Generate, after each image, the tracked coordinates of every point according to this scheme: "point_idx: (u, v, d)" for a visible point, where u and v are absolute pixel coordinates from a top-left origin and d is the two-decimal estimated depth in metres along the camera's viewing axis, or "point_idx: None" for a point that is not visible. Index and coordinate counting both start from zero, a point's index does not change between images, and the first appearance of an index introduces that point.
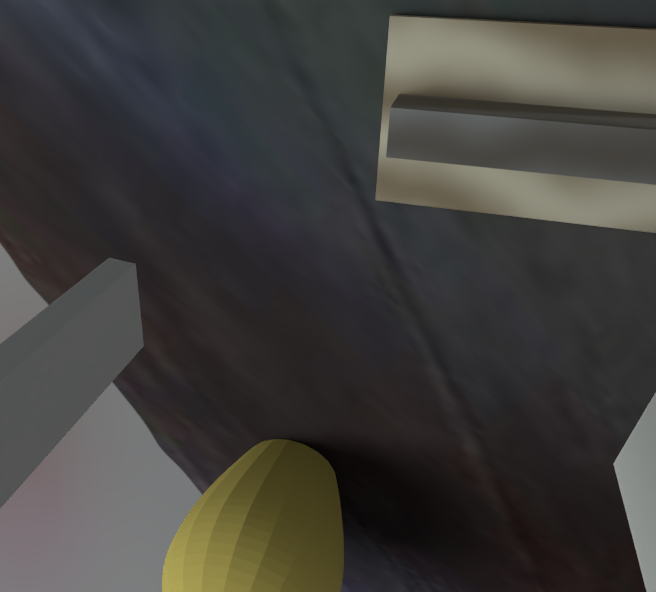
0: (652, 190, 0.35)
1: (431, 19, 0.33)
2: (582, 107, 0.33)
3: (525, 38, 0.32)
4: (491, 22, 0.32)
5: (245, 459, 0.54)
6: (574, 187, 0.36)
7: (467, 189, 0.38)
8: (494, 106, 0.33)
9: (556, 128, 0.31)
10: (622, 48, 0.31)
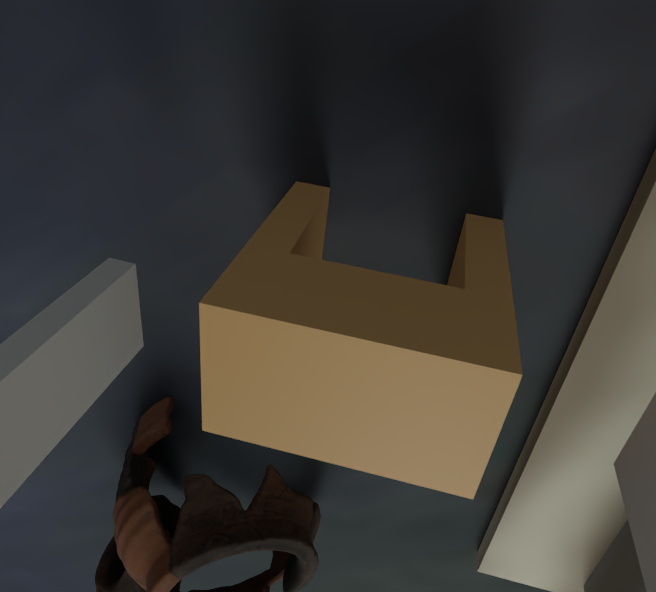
0: None
1: (493, 540, 0.24)
2: None
3: (552, 458, 0.21)
4: (517, 488, 0.22)
5: None
6: None
7: None
8: None
9: None
10: (613, 350, 0.18)
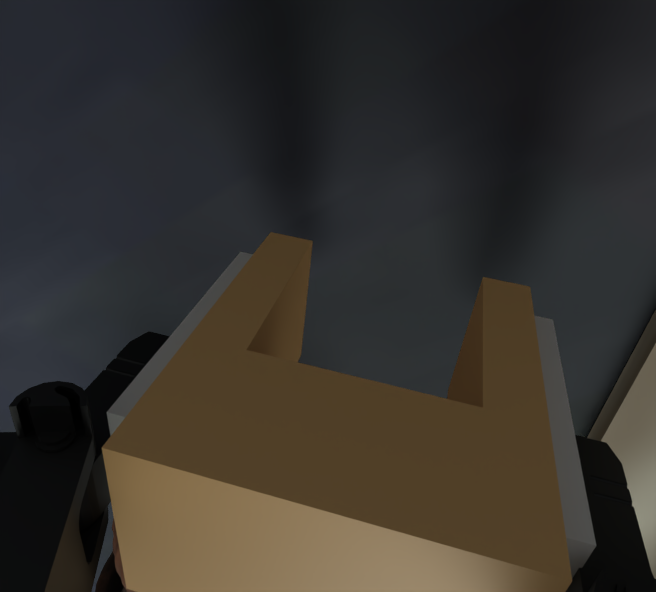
0: None
1: None
2: None
3: None
4: None
5: None
6: None
7: None
8: None
9: None
10: None
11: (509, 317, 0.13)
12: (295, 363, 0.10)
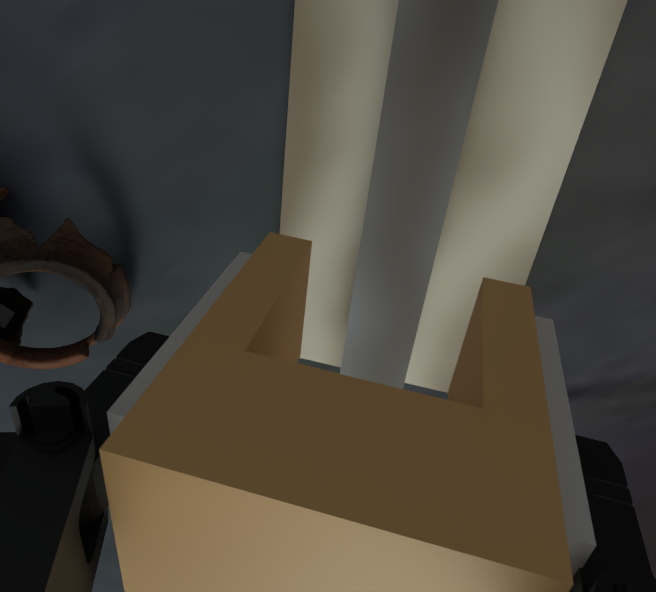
0: (532, 34, 0.20)
1: None
2: None
3: (296, 224, 0.27)
4: None
5: None
6: (505, 157, 0.23)
7: None
8: None
9: (371, 232, 0.21)
10: (310, 112, 0.24)
11: (509, 318, 0.13)
12: (294, 364, 0.10)
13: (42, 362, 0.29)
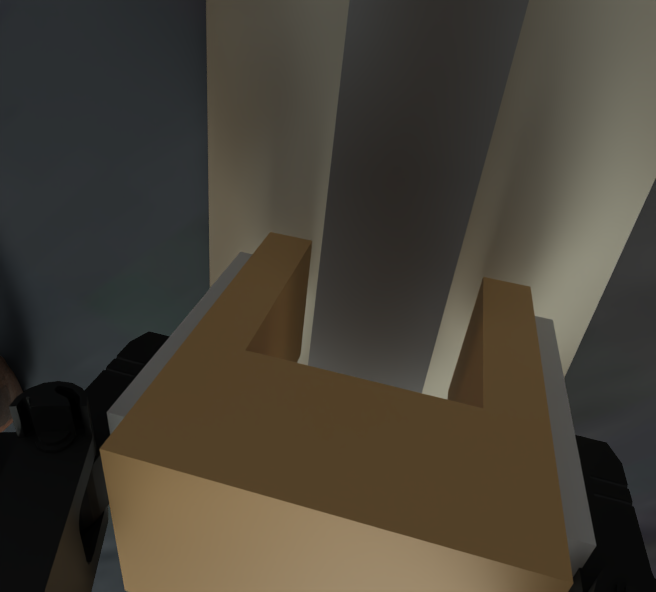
0: (567, 74, 0.13)
1: None
2: None
3: None
4: None
5: None
6: (522, 249, 0.15)
7: None
8: None
9: None
10: (240, 178, 0.16)
11: (509, 317, 0.13)
12: (294, 363, 0.10)
13: None
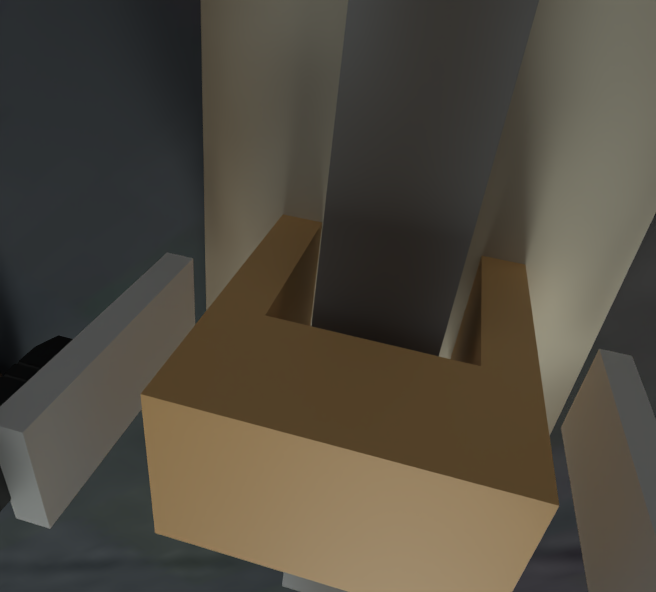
0: (576, 79, 0.12)
1: None
2: None
3: None
4: None
5: None
6: (528, 259, 0.15)
7: None
8: None
9: None
10: (237, 185, 0.16)
11: (506, 290, 0.14)
12: (310, 327, 0.11)
13: None
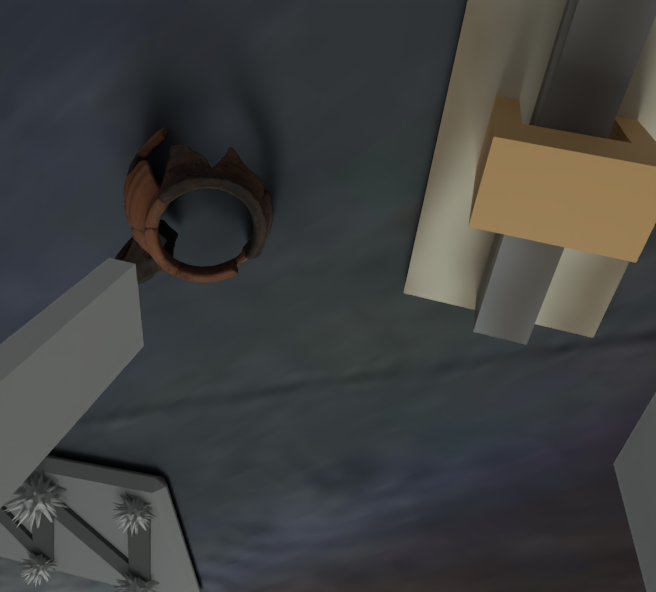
0: None
1: (412, 259, 0.34)
2: (530, 115, 0.28)
3: (443, 177, 0.31)
4: (423, 208, 0.32)
5: None
6: (639, 116, 0.27)
7: None
8: None
9: None
10: (471, 78, 0.28)
11: (631, 126, 0.26)
12: None
13: (201, 275, 0.34)
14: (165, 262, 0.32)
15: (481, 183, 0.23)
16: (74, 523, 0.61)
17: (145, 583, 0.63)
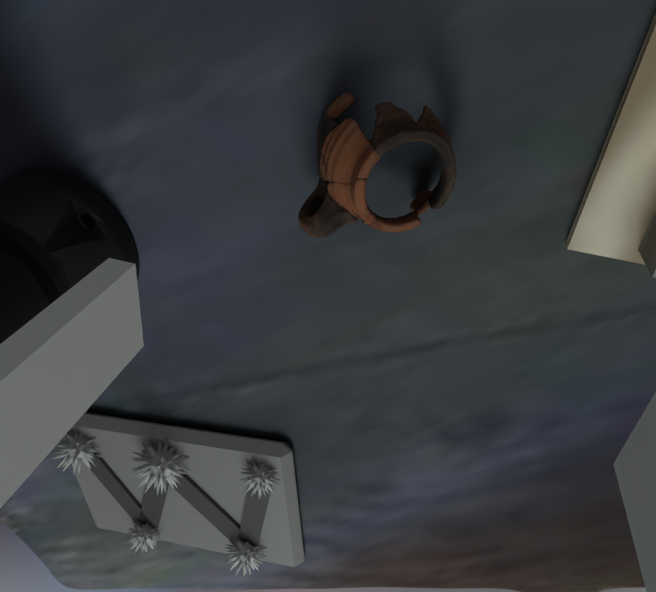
0: None
1: (580, 217, 0.38)
2: None
3: (624, 140, 0.35)
4: (599, 169, 0.36)
5: None
6: None
7: None
8: None
9: None
10: None
11: None
12: None
13: (392, 225, 0.37)
14: (366, 211, 0.36)
15: None
16: (191, 490, 0.64)
17: (254, 548, 0.66)
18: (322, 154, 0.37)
